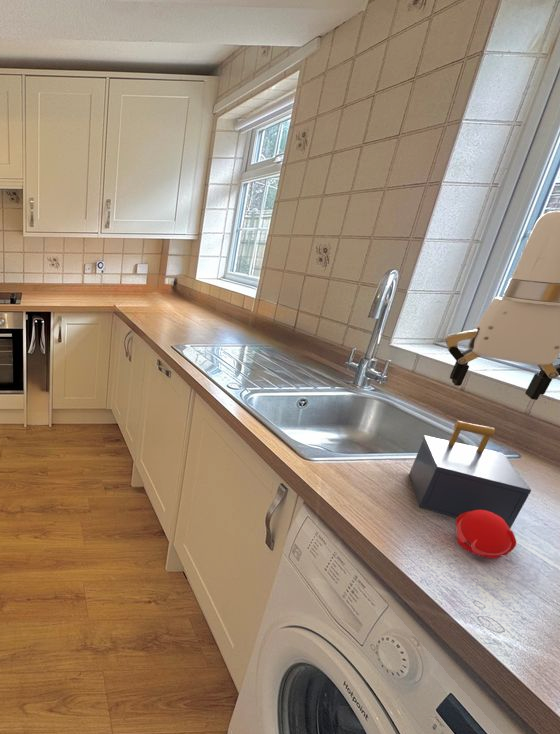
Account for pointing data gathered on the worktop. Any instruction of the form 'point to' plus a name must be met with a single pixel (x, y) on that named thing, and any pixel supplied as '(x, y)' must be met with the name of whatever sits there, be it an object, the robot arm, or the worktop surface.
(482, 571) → the worktop surface
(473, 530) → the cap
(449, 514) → the chest
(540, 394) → the robot arm
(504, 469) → the lid
